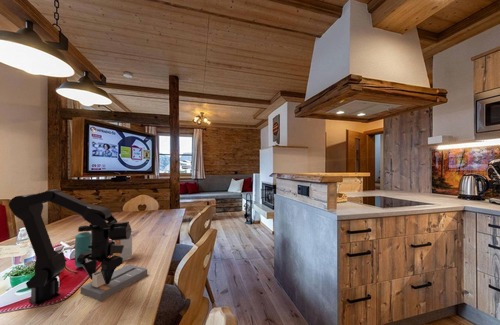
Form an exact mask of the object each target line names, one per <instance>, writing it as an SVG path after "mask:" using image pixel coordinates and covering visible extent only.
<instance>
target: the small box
mask: <svg viewBox="0 0 500 325" xmlns="http://www.w3.org/2000/svg"><path fill="white" fill-rule="evenodd" d="M111 241H114V242H115V244H120V245H124V248H123V251H122V254H119V253H113V255H111V257H112V256H115V255H116V256H120V257H122V258H123V262H125V261H128V260H129V259H133V233H131V236H130V238H129V239H125V240H111Z"/></svg>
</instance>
